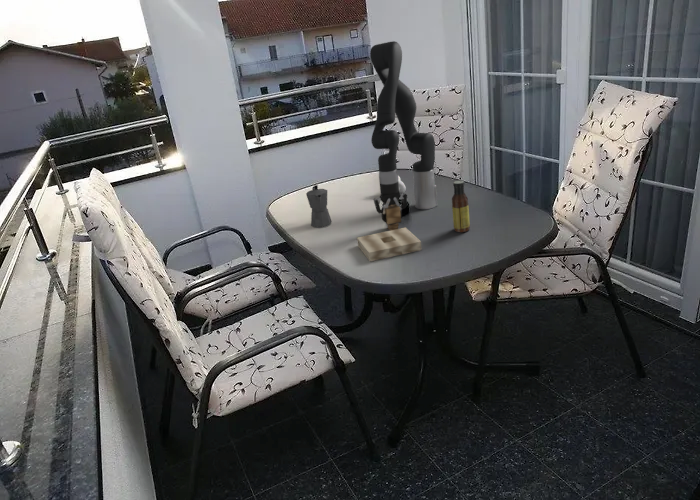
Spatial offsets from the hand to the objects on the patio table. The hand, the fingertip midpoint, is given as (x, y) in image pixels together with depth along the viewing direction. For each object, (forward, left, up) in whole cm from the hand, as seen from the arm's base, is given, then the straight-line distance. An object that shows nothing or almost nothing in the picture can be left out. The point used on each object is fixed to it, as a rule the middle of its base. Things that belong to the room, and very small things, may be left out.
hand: (392, 220), depth 206 cm
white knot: (-16, -42, -4) cm, 45 cm away
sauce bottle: (-23, +16, -4) cm, 28 cm away
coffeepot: (+26, -23, -4) cm, 35 cm away
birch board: (+8, +18, -4) cm, 20 cm away
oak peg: (0, 0, -4) cm, 4 cm away
